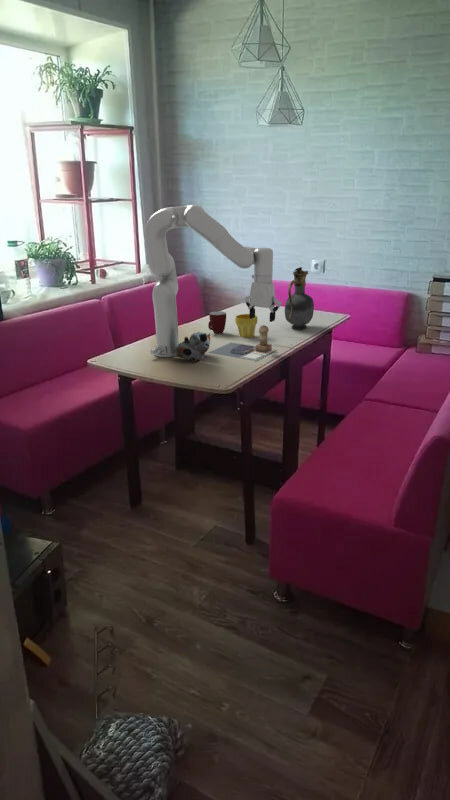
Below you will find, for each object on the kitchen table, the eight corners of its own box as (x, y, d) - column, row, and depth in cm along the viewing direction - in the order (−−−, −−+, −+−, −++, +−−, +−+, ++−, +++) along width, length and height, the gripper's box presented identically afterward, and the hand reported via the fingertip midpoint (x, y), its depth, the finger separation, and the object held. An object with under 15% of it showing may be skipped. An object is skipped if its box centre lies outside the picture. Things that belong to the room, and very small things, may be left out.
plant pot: (231, 338, 279) (231, 317, 275) (241, 332, 287) (241, 312, 284) (251, 340, 274) (251, 319, 270) (261, 334, 283) (261, 314, 279)
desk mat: (255, 362, 243) (255, 360, 243) (208, 353, 256) (208, 352, 256) (277, 351, 257) (277, 349, 257) (231, 343, 270) (231, 342, 269)
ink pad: (244, 354, 251) (244, 351, 250) (230, 352, 254) (230, 349, 254) (255, 349, 258) (255, 346, 257) (241, 347, 261) (241, 343, 261)
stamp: (265, 352, 252) (265, 327, 248) (255, 351, 255) (255, 325, 251) (271, 349, 256) (271, 324, 252) (261, 348, 259) (261, 323, 255)
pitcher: (315, 325, 296) (317, 264, 285) (298, 334, 281) (300, 270, 271) (296, 323, 302) (297, 263, 291) (278, 331, 287) (278, 269, 276)
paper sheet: (255, 360, 243) (255, 359, 243) (239, 357, 248) (239, 356, 247) (276, 349, 256) (276, 349, 256) (260, 347, 261) (260, 346, 260)
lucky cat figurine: (183, 352, 258) (197, 324, 255) (205, 366, 255) (220, 337, 252) (168, 352, 244) (182, 322, 241) (191, 366, 241) (206, 336, 238)
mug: (217, 337, 280) (217, 316, 276) (203, 335, 284) (203, 315, 281) (229, 332, 288) (229, 312, 285) (216, 330, 292) (215, 310, 289)
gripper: (240, 278, 246) (240, 318, 252) (277, 282, 237) (275, 324, 243) (250, 275, 252) (249, 315, 258) (286, 279, 243) (284, 320, 249)
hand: (262, 319), depth 250 cm, fingers open, 9 cm apart
